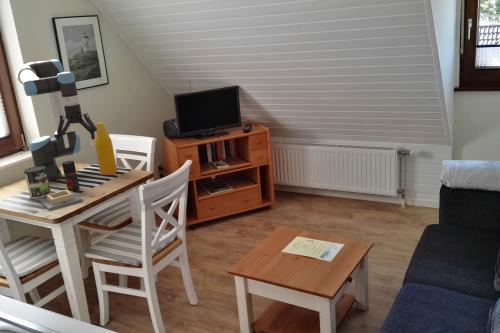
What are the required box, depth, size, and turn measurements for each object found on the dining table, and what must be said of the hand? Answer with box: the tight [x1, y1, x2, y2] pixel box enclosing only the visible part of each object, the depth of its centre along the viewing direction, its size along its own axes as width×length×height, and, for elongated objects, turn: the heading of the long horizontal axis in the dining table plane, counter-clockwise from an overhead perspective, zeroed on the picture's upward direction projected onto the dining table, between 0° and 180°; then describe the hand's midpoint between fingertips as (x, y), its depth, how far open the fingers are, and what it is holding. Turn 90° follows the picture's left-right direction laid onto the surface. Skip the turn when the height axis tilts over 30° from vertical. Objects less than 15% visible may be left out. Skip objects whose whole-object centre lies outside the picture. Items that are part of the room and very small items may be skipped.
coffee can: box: [23, 166, 52, 200], centre depth 263 cm, size 10×10×14 cm
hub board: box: [38, 189, 84, 212], centre depth 251 cm, size 18×16×4 cm
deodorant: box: [61, 160, 81, 193], centre depth 265 cm, size 6×6×15 cm
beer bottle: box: [94, 121, 118, 176], centre depth 287 cm, size 9×9×29 cm
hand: (80, 146), depth 257 cm, fingers open, 13 cm apart
